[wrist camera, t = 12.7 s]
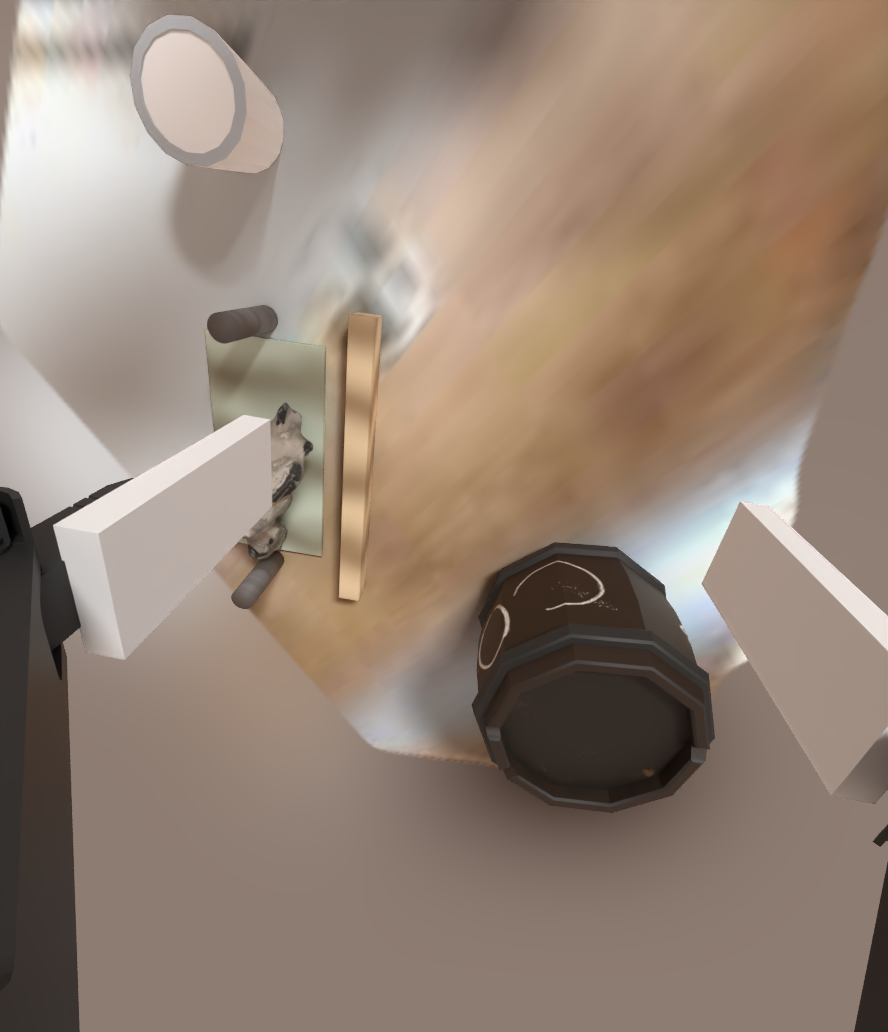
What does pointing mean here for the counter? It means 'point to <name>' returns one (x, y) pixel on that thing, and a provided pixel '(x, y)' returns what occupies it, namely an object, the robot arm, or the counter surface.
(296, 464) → the decorative stone
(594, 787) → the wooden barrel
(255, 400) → the grey tray with pegs
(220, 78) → the shot glass
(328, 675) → the counter surface
